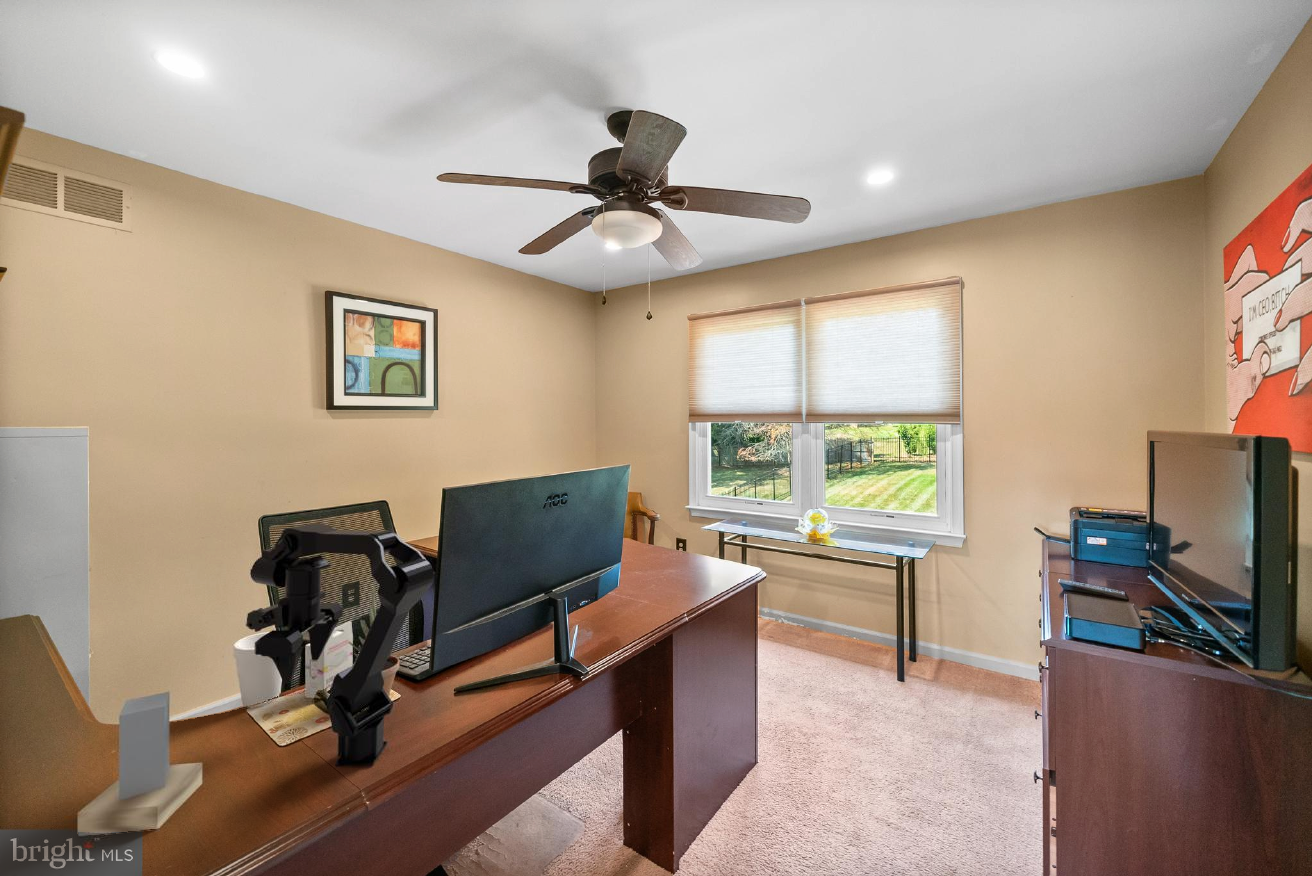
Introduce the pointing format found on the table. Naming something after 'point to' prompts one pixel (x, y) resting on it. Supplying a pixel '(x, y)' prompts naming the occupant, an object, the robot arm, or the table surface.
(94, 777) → the table surface
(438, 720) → the table surface
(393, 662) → the potted plant
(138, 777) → the slate blue pillar
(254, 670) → the foam cup
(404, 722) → the table surface
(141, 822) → the maple block
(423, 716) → the table surface
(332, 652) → the ink cartridge box
